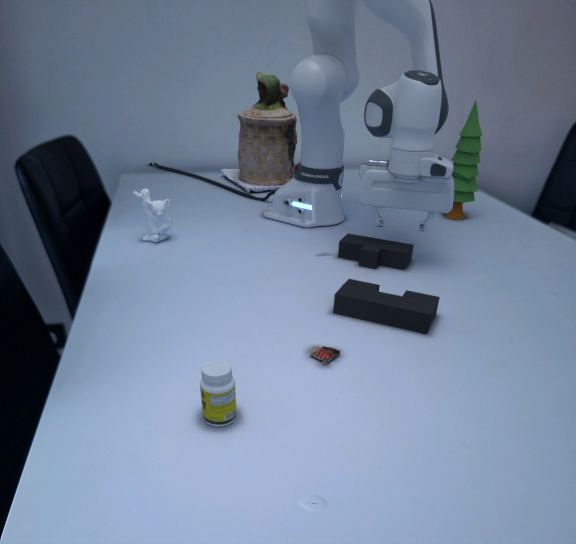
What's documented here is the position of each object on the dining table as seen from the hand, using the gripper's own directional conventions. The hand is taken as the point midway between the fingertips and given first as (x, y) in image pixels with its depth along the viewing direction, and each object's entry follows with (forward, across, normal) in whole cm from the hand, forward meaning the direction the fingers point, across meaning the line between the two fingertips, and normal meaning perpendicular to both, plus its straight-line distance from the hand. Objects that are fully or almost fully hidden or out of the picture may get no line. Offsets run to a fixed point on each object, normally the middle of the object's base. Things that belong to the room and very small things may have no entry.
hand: (400, 228), depth 118 cm
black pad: (+8, -5, 0) cm, 10 cm away
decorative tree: (+8, +13, +41) cm, 44 cm away
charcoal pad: (+8, 0, -26) cm, 28 cm away
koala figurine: (+8, -59, -3) cm, 59 cm away
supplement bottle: (+8, -18, -65) cm, 68 cm away
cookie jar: (+8, -49, +59) cm, 77 cm away
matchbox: (+8, -8, -44) cm, 46 cm away
